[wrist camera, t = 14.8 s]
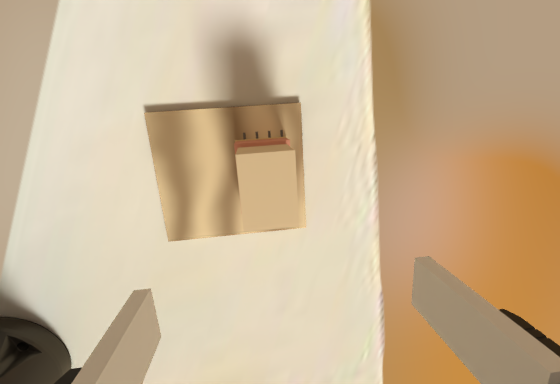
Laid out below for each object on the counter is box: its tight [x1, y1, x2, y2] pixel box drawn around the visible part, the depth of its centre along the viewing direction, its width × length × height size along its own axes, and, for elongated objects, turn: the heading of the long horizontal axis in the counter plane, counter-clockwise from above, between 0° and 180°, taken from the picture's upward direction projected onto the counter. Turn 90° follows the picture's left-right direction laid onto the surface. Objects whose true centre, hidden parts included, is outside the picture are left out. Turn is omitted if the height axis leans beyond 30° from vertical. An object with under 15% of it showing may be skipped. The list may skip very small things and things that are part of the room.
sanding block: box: [234, 136, 299, 232], centre depth 30 cm, size 6×8×10 cm
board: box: [144, 103, 306, 241], centre depth 34 cm, size 18×16×1 cm
